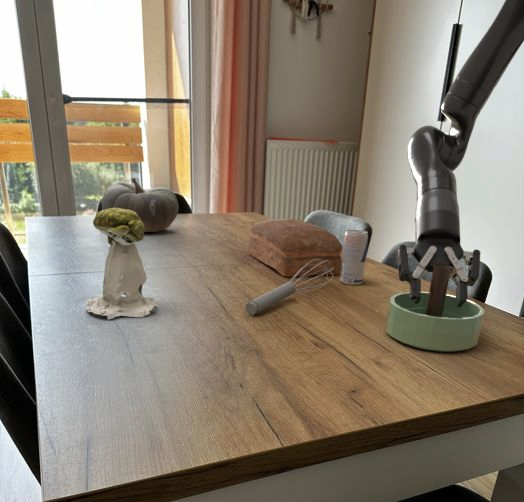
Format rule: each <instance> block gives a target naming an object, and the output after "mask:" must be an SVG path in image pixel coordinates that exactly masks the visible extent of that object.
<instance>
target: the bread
mask: <svg viewBox="0 0 524 502" xmlns="http://www.w3.org/2000/svg"><path fill="white" fill-rule="evenodd" d="M248 232H249V233H248V239H247V242H246V243H247V244H246V250H247V253H248V254H249V255H250V256H252V257H254V258H255V259H257V260H259V261H260V262H262V263H263V264H265V265H267V266H269V267H270V268H273V269H274V270H275V271H277V272H278V273H279V274H280V275H281V276H283V277H290V278H294V277H295V276H296V275H297V276H296V277H302V276H303V275H304V274H305V273H306V274H305V275H304V276H303V277H305V276H307V275H309V276H307V277H310V276H319V275H321V276H322V274H324V272H325V274H324V275H323V276H327V274H328V276H334V275H339V274H340V275H341V267H342V255H341V254H342V252H343V245H342V243H341V242H340V240H339V239H338V237H337V236H336V235H334V234H333V233H332V232H330V231H328V229H327V230H326V229H325V228H323V227H321V226H318V225H316V224H313V223H311V222H309V221H305V220H301V219H294V218H276V219H275V218H274V219H264V220H262V221H259V222H257V223H255V224H253V225H251V227H250V229H249V231H248ZM314 259H319V260H314ZM312 260H314V261H312ZM320 260H322V261H320ZM310 261H311V262H310ZM323 261H325V262H323ZM328 261H329V265H328ZM309 262H310V263H309ZM321 262H323V263H324V264H325V266H324V264H323V263H321ZM307 263H308V264H307ZM320 263H321V264H320ZM306 264H307V265H309V266H307V265H306ZM311 264H317V266H316V265H311ZM318 264H319V265H321V266H318ZM305 265H306V267H304V266H305ZM315 266H316V267H315ZM322 266H323V267H322ZM327 266H328V267H327ZM303 267H304V268H303ZM313 267H315V268H313ZM324 267H326V268H330V269H328V270H329V272H328V270H327V273H326V271H325V270H324V269H326V268H324ZM302 268H303V269H302ZM312 268H313V269H312ZM300 269H302V270H301V271H300V272H299V273H298V274H296V273H297V272H298V271H299V270H300ZM311 269H312V270H311ZM331 269H332V270H331ZM309 270H310V271H309ZM320 270H322V271H320ZM330 270H331V271H330ZM308 271H309V272H308ZM317 271H319V272H317ZM307 272H308V273H307ZM314 272H316V273H314ZM331 272H332V274H333V275H332V274H331ZM312 273H313V274H312ZM295 274H296V275H295ZM310 274H311V275H310ZM294 275H295V276H294ZM293 276H294V277H293Z"/></svg>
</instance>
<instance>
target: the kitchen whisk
mask: <svg viewBox="0 0 524 502" xmlns="http://www.w3.org/2000/svg"><path fill="white" fill-rule="evenodd" d="M314 260H319V259H314ZM314 260H312V261H314ZM320 261H322V260H320ZM310 262H311V261H310ZM310 262H309V263H310ZM323 262H325V261H323ZM323 262H321V263H323ZM321 263H320V264H321ZM307 264H308V263H307ZM307 264H306V265H307ZM323 264H324V263H323ZM306 265H305V266H304V267H306ZM311 265H316V266H317V264H311ZM328 265H329V261H328ZM307 266H309V265H307ZM316 266H315V267H316ZM318 266H321V265H319V264H318ZM324 266H325V264H324ZM304 267H303V268H304ZM315 267H313V268H315ZM322 267H323V266H322ZM327 267H328V266H327ZM303 268H302V269H303ZM313 268H312V269H313ZM324 268H326V267H324ZM302 269H300V270H299V271H298V272H297V273H296V274H298V273H299V272H300V271H301V270H302ZM312 269H311V270H312ZM328 269H330V268H326V269H324V270H325V271H326V273H327V270H328ZM331 270H332V269H331ZM331 270H330V271H331ZM309 271H310V270H309ZM309 271H308V272H309ZM320 271H322V270H320ZM308 272H307V273H308ZM317 272H319V271H317ZM328 272H329V270H328ZM314 273H316V272H314ZM296 274H295V275H296ZM305 274H306V273H305ZM305 274H304V275H305ZM312 274H313V273H312ZM324 274H325V272H324ZM324 274H322V275H316V276H315V277H312V278H311V279H308V280H306V281H304V282H302V283H299V284H297V285H295V284H296V283H298V282H299V281H301V280H303V279H304V278H307V277H310V276H309V275H307V276H304V275H303V276H299V278H298V279H297V280H295V278H296V277H298V276H297V275H296V276H295V275H294V276H293V277H291V279H290V281H287V282H285V283H283V284H281V285H279V286H278V287H276V288H273V289H270V290H269V291H267V292H266V293H263V294H261V295H259V296H257V297H256V298H254V299H252V300H249V301H247V302H246V303H245V304H244V305H243V307H242V312H243V315H244V316H245V317H248V318H251V317H254V316H255V315H258V314H259V313H261V312H263V311H264V310H266V309H268V308H270V307H273V306H274V305H276V304H277V303H279V302H281V301H283V300H285V299H286V298H288V297H290V296H292V295H294V294H295V293H309V292H313V291H318V290H320V289H322V288H323V287H324V286H325V285H326V284H328V283H330V282H331V281H332V280H333V279H334V275H333V274H332V272H331V274H332V275H331V277H332V278H331V279H330V280H328V279H326V280H325V282H324V283H321V284H317V283H318V281H320V280H321V278H322V277H323V276H325V275H324ZM310 275H311V274H310ZM311 276H312V275H311ZM328 276H329V275H328V274H327V275H326V278H328ZM319 277H320V278H319ZM316 278H319V279H318V280H317V281H315V282H314V283H312V284H311V285H309V286H306V287H304V288H297V287H298V286H301V285H303V284H305V283H309V282H310V281H312V280H314V279H316ZM294 280H295V281H294ZM293 281H294V282H293ZM316 284H317V285H316ZM313 285H314V286H313ZM319 286H320V287H319ZM316 287H319V288H316ZM312 288H316V289H312ZM306 289H311V290H306ZM302 290H305V291H302ZM245 312H246V313H247V314H248V315H247V314H246V313H245Z"/></svg>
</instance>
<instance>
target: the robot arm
mask: <svg viewBox="0 0 524 502" xmlns="http://www.w3.org/2000/svg"><path fill="white" fill-rule="evenodd" d="M523 43H524V0H504V2H503V4H502V6H501V8H500V9H499V12H498V13H497V15H496V16H495V18H494V20H493V22H492V23H491V25H490V26H489V27H488V29H487V31H486V32H485V33H484V35H483V37H482V38H481V39H480V41H479V42H478V43H477V44H476V46H475V48H474V49H473V50H472V52H471V53H470V55H469V56H468V58H467V59H466V61H465V62H464V64H463V65H462V67H461V69H460V70H459V72H458V73H457V76H456V77H455V79H454V80H453V82H452V84H451V86H450V87H449V90H448V92H447V93H446V94H445V96H444V98H443V100H442V102H441V105H440V111H441V113H442V114H443V115H444V116H445V117H446V118H447V119H448V121H449V122H450V127H449V132H448V133H447V132H445V131H443V130H441V129H440V128H438V127H436V126H433V125H423V126H421V127H419V128H418V129H416V131H414V133H413V134H412V135H411V137H410V139H409V142H408V144H407V161H408V164H409V168H410V171H411V174H412V178H413V180H414V183H415V186H416V206H415V211H414V212H415V215H414V224H415V227H414V229H415V231H414V232H415V233H414V234H415V235H414V238H415V245H414V247H408V246H407V245H406V244H400V245H399V247H398V250H397V252H396V261H397V271H398V280H399V281H400V282H407V283H408V284H409V292H410V298H411V300H414V304H418V303H419V301H420V299H421V292H422V276H423V275H424V274H425V272H426V271H427V273H432V272H433V267H434V265H436V264H442V265H448V266H450V267H451V272H450V277H449V280H452V281H453V283H454V284H455V286H456V287H455V296H456V307H462V305H463V304H465V302H466V301H467V300H468V298H469V293H468V292H469V291H468V287H474V286H475V285H476V282H477V281H478V280H479V278H480V269H481V268H480V267H481V266H480V265H481V251H480V250H479V249H474V250H472V251H467V250H464V249H463V247H462V245H461V225H460V224H461V222H460V206H459V200H458V189H457V188H458V187H457V179H456V175H455V173H454V171H455V170H457V169H458V168H459V166H460V165H461V164H462V162H463V160H464V159H465V158H464V157H465V156H466V153H467V149H468V146H469V143H470V140H471V137H472V134H473V131H474V128H475V125H476V122H477V120H478V117H479V115H480V114H481V112H482V110H483V109H484V107H485V105H486V104H487V102H488V101H489V99H490V97H491V96H492V94H493V92H494V91H495V89H496V87H497V86H498V84H499V82H500V81H501V78H503V75H504V74H505V72H506V70H507V69H508V67H509V66H510V64H511V63H512V60H513V59H514V57H515V56H516V54H517V52H518V51H519V49H520V47H522V45H523ZM411 256H413V258H415V260H416V261H417V262H418V265H417V266H416V268H415V269H414V270H413V271H410V267H409V260H410V258H411ZM462 259H463V261H464V263H465V265H466V266H468V267H467V274H466V272H465V271H464V266H463V265H462V263H461V262H460V260H462Z"/></svg>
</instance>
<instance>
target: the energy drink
mask: <svg viewBox="0 0 524 502" xmlns="http://www.w3.org/2000/svg"><path fill="white" fill-rule="evenodd" d="M368 233H369V232H368V231H366V230H360V229H347V230H346V231H345V234H344V238H343V247H342V256H341V258H342V267H341V272H340V276H339V277H340V278H339V281H340V283H341V282H342V284H343V285H348V286H360V285H362V284H363V283H364V275H365V267H366V259H367V250H368V242H369V234H368Z"/></svg>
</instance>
